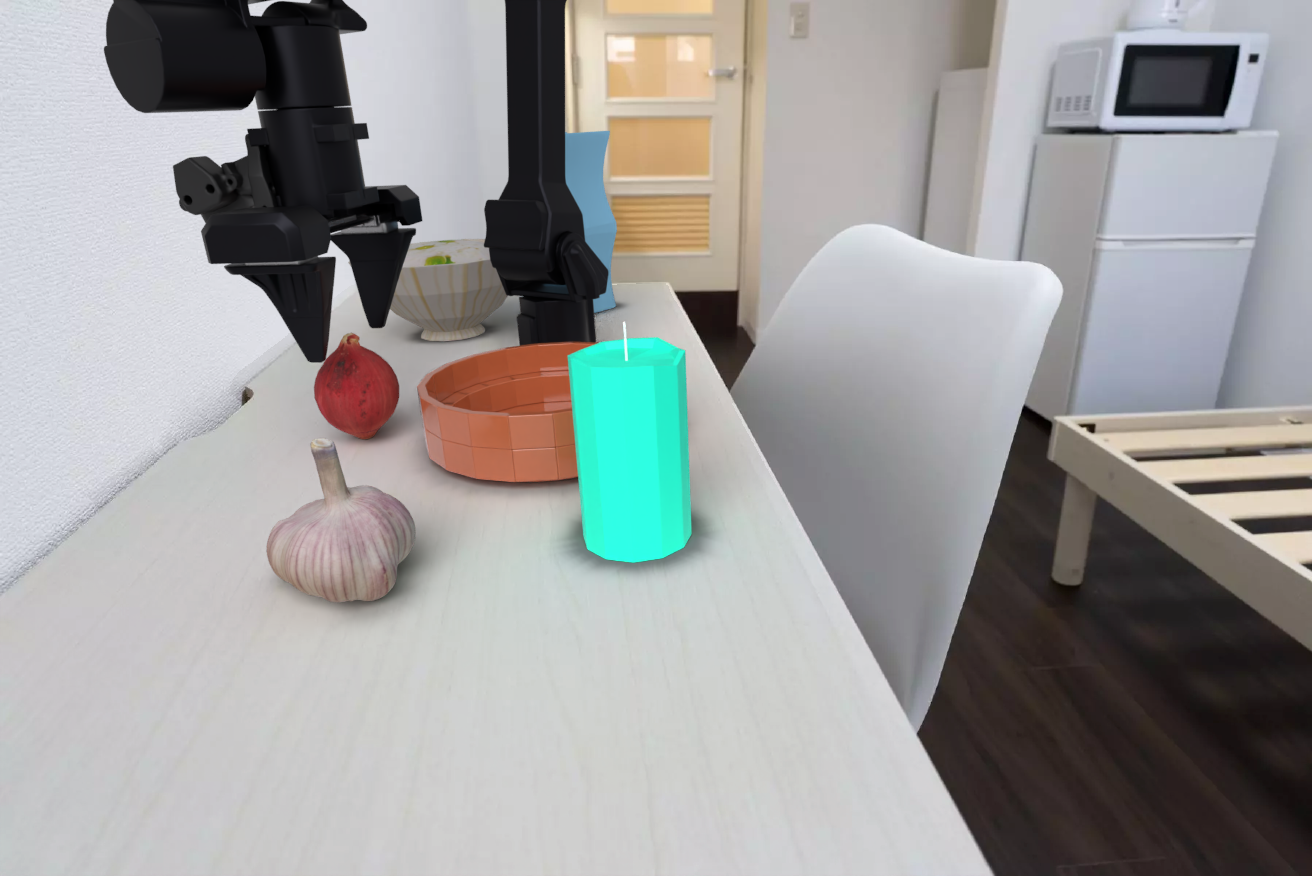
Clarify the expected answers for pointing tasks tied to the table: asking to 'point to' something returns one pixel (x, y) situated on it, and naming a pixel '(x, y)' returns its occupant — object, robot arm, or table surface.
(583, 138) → the vase
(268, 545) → the garlic bulb
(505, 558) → the table surface
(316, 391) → the onion
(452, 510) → the table surface
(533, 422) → the terracotta bowl
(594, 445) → the candle
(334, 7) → the robot arm
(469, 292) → the bowl
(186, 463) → the table surface
